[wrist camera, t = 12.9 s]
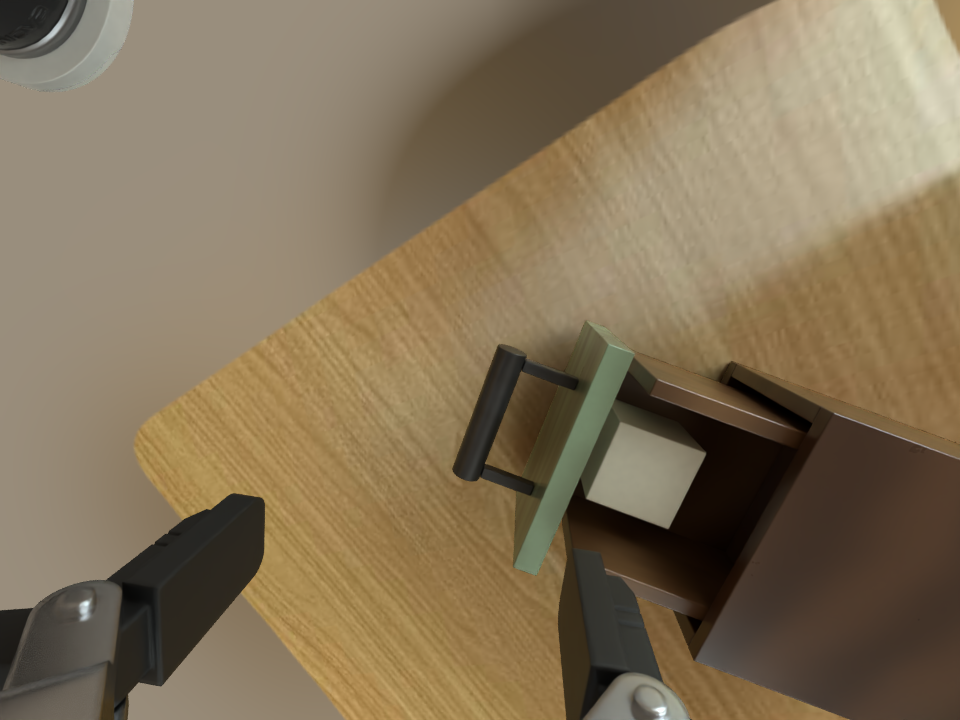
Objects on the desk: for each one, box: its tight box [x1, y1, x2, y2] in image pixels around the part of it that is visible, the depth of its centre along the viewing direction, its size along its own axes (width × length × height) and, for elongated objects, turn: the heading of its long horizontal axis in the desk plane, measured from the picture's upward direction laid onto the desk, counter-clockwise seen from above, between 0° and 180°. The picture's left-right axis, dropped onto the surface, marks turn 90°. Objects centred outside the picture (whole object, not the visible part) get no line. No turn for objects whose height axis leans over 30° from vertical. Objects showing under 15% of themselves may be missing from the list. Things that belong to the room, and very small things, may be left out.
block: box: [581, 399, 706, 529], centre depth 25 cm, size 4×4×4 cm
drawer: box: [452, 320, 812, 621], centre depth 25 cm, size 18×11×8 cm, turn 71°
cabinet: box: [673, 361, 960, 720], centre depth 25 cm, size 15×13×10 cm
